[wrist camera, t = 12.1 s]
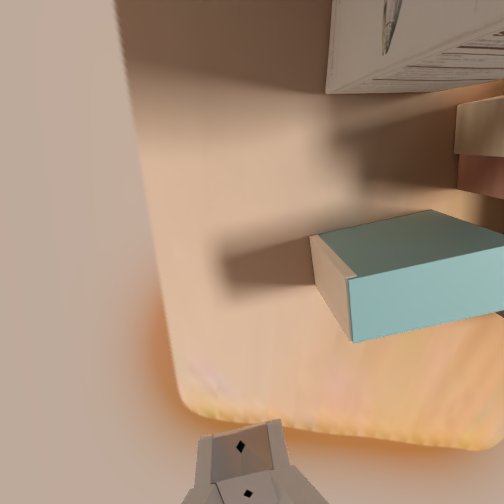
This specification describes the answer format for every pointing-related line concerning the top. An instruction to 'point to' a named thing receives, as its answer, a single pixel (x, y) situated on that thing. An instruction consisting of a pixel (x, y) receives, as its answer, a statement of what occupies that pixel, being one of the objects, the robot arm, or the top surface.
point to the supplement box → (414, 45)
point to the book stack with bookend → (481, 148)
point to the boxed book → (408, 273)
